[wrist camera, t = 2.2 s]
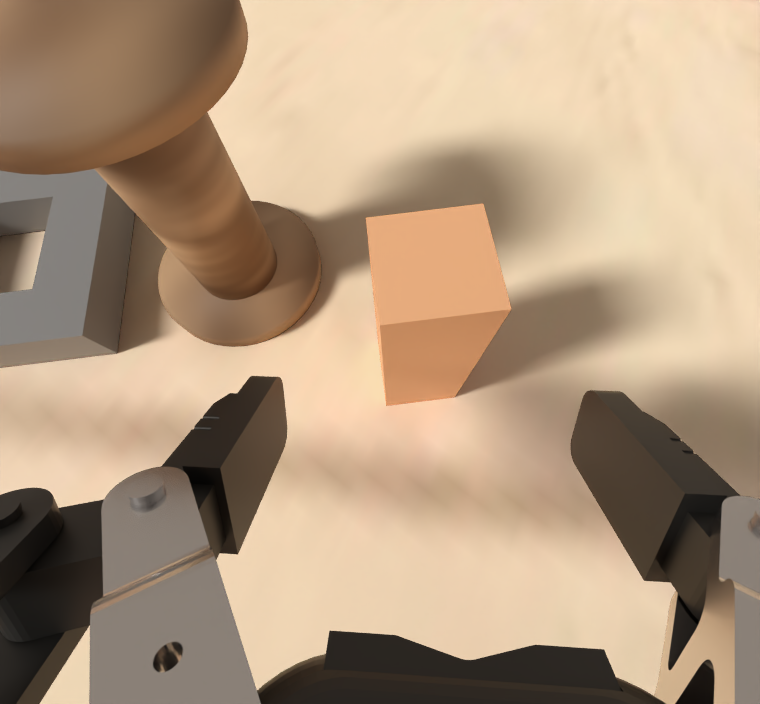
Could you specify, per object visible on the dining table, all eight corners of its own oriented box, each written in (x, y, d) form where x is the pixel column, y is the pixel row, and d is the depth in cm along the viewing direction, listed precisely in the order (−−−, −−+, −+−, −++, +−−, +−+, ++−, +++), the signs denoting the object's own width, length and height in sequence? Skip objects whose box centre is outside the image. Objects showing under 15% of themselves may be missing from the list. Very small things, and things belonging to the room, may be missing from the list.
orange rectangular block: (442, 334, 21) (483, 203, 11) (454, 397, 19) (511, 309, 10) (378, 342, 21) (365, 217, 11) (386, 405, 19) (380, 325, 10)
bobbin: (316, 204, 24) (236, -95, 12) (326, 335, 21) (232, 114, 9) (173, 221, 24) (-58, -62, 12) (161, 356, 21) (-170, 161, 9)
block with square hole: (138, 182, 25) (112, 150, 23) (117, 353, 21) (82, 335, 19) (-45, 204, 25) (-91, 174, 23) (-104, 380, 21) (-167, 366, 18)
